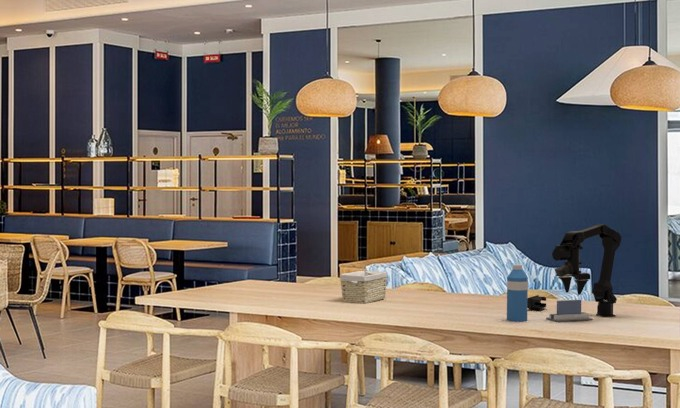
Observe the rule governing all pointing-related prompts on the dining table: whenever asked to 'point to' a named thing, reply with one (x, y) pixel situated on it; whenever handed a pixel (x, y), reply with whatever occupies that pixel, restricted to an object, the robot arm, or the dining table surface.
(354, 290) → the storage basket
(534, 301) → the end cap
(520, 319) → the water bottle
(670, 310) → the dining table surface
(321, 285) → the dining table surface
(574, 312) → the door panel
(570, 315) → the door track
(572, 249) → the robot arm
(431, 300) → the dining table surface
